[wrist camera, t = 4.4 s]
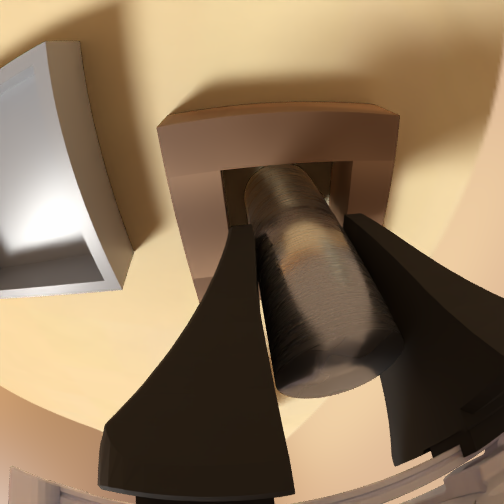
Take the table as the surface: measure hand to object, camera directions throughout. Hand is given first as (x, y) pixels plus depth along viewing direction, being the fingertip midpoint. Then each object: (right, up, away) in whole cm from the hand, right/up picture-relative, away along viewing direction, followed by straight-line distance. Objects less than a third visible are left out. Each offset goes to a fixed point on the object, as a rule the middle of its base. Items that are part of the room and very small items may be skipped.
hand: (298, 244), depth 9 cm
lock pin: (0, +2, +3) cm, 3 cm away
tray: (-12, +3, 0) cm, 13 cm away
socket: (0, +2, +3) cm, 3 cm away
